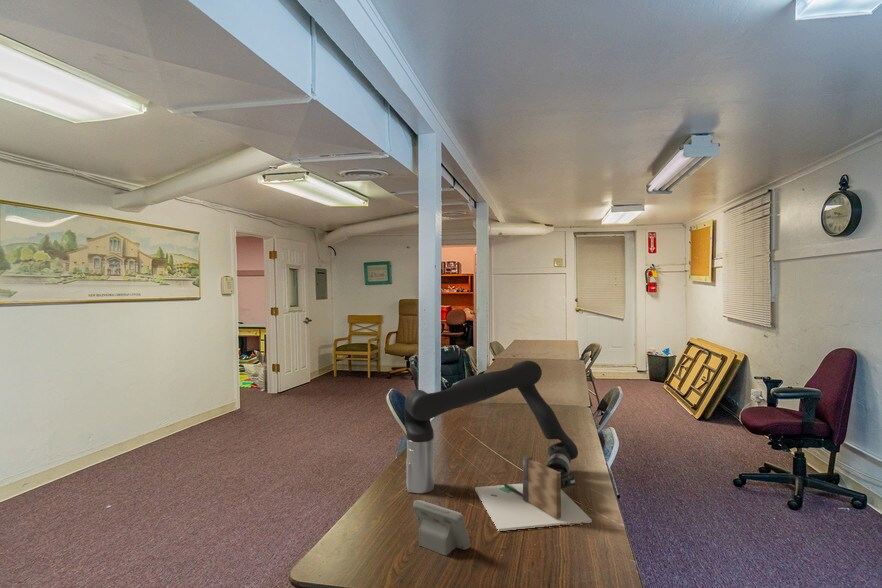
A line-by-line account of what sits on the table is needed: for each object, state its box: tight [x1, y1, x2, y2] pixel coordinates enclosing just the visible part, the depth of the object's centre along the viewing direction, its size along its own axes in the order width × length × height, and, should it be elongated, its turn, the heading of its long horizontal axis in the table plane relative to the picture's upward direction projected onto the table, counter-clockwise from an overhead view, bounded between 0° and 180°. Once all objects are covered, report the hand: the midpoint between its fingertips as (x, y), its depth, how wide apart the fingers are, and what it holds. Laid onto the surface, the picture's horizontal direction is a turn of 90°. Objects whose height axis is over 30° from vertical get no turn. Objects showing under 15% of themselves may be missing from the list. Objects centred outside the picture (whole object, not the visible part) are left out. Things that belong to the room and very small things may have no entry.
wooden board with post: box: [503, 456, 561, 519], centre depth 148 cm, size 26×3×13 cm, turn 29°
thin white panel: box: [474, 483, 593, 532], centre depth 148 cm, size 28×28×1 cm
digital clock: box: [412, 499, 471, 557], centre depth 126 cm, size 16×9×11 cm, turn 44°
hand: (551, 489), depth 141 cm, fingers closed
